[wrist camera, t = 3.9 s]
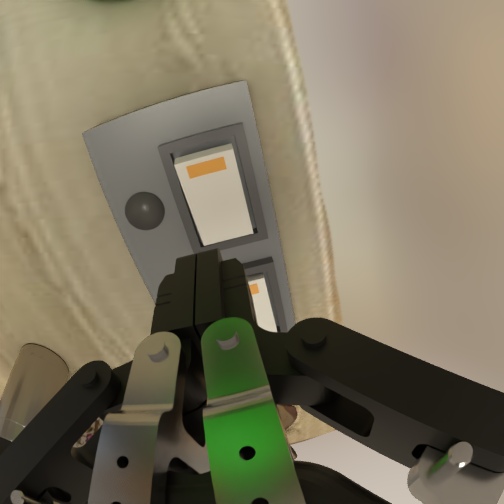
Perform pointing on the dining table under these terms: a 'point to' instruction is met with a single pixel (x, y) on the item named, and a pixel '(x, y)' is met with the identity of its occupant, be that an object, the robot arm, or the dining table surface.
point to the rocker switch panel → (172, 195)
